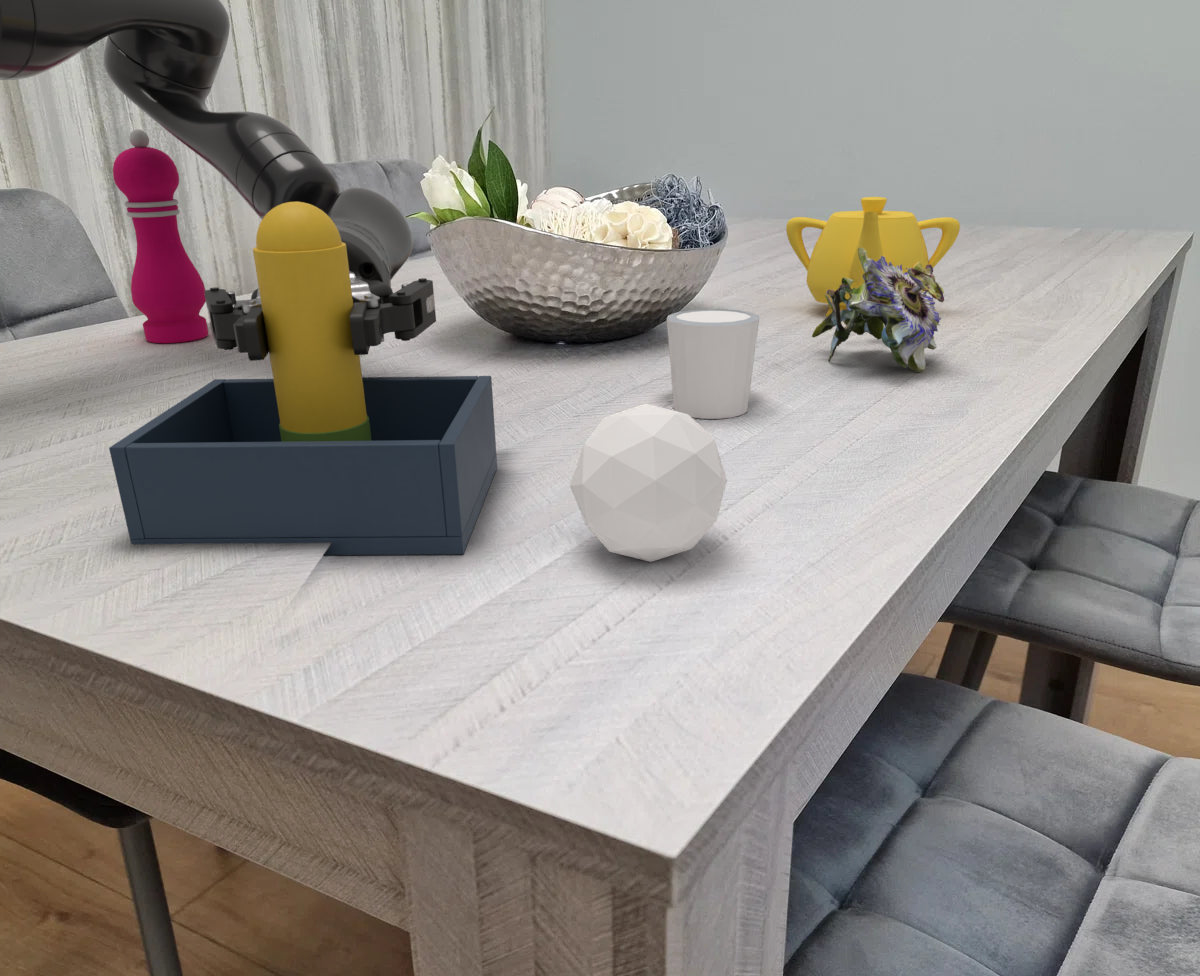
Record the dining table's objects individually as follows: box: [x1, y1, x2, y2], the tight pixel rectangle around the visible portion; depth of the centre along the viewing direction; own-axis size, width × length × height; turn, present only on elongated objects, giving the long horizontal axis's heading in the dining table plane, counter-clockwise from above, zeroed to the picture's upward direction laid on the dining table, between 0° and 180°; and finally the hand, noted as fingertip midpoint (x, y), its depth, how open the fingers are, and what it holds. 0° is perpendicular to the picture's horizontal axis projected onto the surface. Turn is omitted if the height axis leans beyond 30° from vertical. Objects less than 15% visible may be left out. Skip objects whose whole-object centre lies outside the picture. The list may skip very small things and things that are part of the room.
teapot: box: [785, 196, 961, 318], centre depth 112 cm, size 14×14×12 cm
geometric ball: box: [569, 403, 728, 563], centre depth 53 cm, size 8×8×8 cm
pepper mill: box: [112, 128, 209, 344], centre depth 105 cm, size 7×7×20 cm
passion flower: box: [811, 247, 945, 373], centre depth 90 cm, size 11×11×12 cm
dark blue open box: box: [108, 375, 498, 556], centre depth 60 cm, size 18×15×6 cm
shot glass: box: [666, 308, 760, 420], centre depth 78 cm, size 7×7×7 cm
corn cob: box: [252, 202, 372, 442], centre depth 57 cm, size 5×5×14 cm
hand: (305, 338), depth 55 cm, fingers closed on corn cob, 5 cm apart
